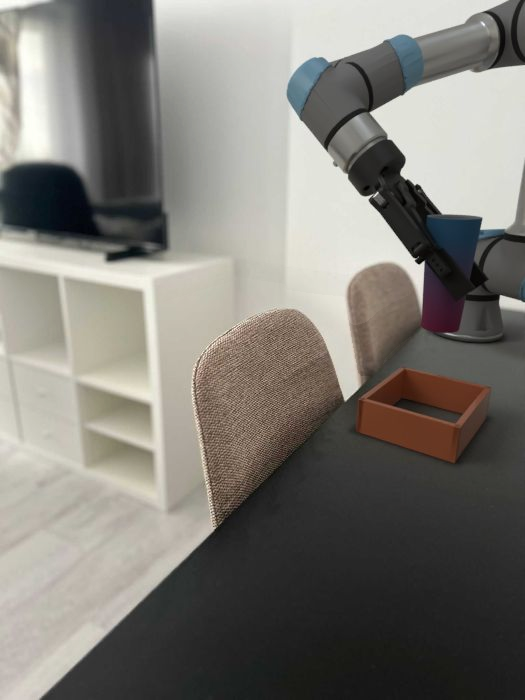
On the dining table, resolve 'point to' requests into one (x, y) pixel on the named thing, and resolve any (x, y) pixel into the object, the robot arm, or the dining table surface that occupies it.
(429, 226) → the cup
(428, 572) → the dining table surface
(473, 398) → the rectangular frame
